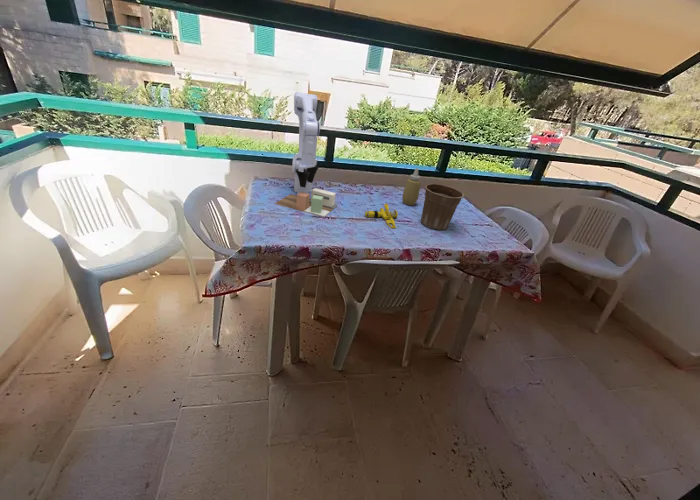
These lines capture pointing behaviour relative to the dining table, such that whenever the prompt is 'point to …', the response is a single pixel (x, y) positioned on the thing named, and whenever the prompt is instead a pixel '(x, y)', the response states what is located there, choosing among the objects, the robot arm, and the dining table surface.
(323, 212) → the mat
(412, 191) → the squeeze bottle
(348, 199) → the dining table surface
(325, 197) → the mounted unit
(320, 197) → the sage block
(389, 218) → the sprinkler
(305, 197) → the terracotta block
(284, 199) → the service board
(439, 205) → the plant pot
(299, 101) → the robot arm
